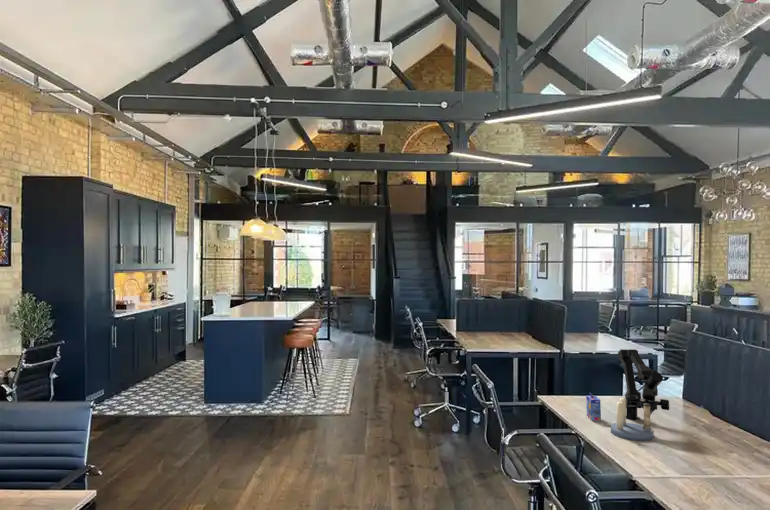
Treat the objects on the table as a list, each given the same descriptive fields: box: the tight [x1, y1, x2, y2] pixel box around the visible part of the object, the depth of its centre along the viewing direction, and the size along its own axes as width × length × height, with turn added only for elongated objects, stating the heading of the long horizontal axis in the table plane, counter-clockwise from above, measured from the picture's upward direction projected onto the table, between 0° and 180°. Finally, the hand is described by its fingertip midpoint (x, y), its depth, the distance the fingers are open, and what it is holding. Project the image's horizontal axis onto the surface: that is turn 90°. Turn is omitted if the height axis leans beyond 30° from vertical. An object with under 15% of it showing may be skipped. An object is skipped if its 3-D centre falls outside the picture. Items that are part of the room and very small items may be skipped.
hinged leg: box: [643, 403, 651, 430], centre depth 261 cm, size 3×3×13 cm
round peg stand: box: [610, 397, 655, 442], centre depth 265 cm, size 20×20×16 cm
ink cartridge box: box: [585, 392, 602, 422], centre depth 292 cm, size 10×6×14 cm, turn 174°
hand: (647, 416), depth 263 cm, fingers closed, pressing on hinged leg
